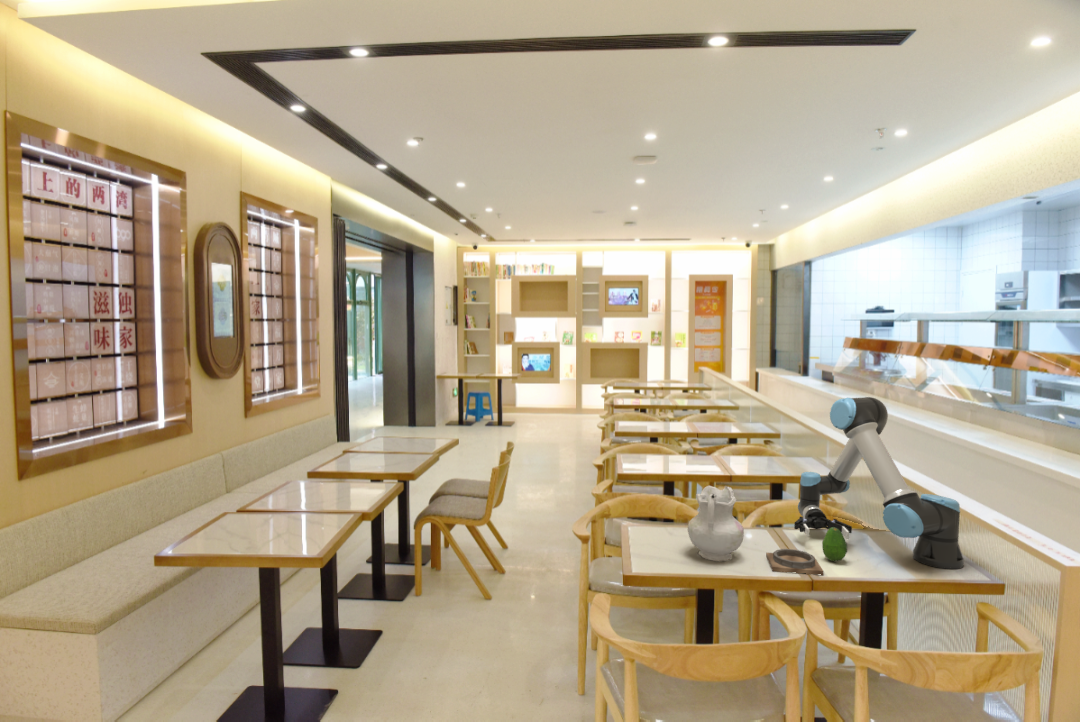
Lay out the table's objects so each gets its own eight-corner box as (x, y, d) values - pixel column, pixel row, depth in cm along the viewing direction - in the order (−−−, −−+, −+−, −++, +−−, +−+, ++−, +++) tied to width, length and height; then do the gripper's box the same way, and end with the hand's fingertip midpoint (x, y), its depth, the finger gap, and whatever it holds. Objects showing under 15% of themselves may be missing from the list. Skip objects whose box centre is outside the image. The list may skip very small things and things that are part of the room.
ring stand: (813, 560, 219) (814, 550, 219) (823, 575, 205) (823, 565, 205) (766, 556, 222) (766, 546, 222) (772, 571, 209) (772, 561, 208)
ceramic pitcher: (744, 573, 210) (752, 501, 208) (686, 564, 213) (693, 493, 212) (737, 551, 231) (744, 485, 229) (684, 543, 235) (691, 478, 233)
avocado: (818, 561, 218) (819, 527, 218) (826, 555, 224) (827, 522, 224) (842, 567, 213) (844, 532, 212) (849, 560, 219) (850, 527, 218)
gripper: (847, 528, 246) (864, 546, 225) (781, 524, 251) (791, 541, 230) (848, 510, 246) (865, 526, 225) (782, 505, 251) (792, 521, 230)
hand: (827, 534), depth 228 cm, fingers open, 13 cm apart
